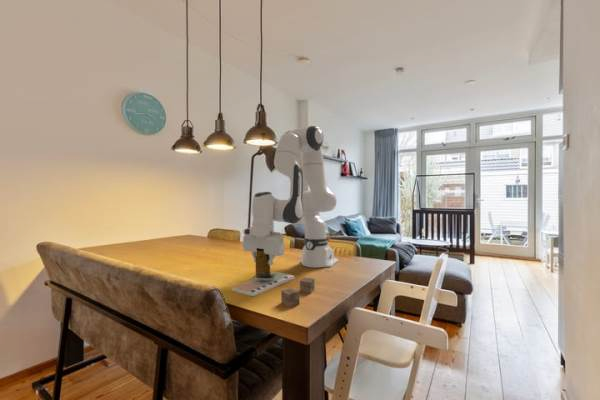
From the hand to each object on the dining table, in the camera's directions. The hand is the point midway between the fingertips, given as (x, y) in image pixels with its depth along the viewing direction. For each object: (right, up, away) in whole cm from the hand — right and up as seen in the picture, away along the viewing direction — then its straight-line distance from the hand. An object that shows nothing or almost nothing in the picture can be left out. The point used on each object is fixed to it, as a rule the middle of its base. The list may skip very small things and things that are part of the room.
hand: (263, 263), depth 119 cm
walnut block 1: (+12, -9, -21) cm, 26 cm away
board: (+1, -9, 0) cm, 9 cm away
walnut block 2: (+18, -9, -9) cm, 22 cm away
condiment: (+1, -6, 0) cm, 6 cm away
